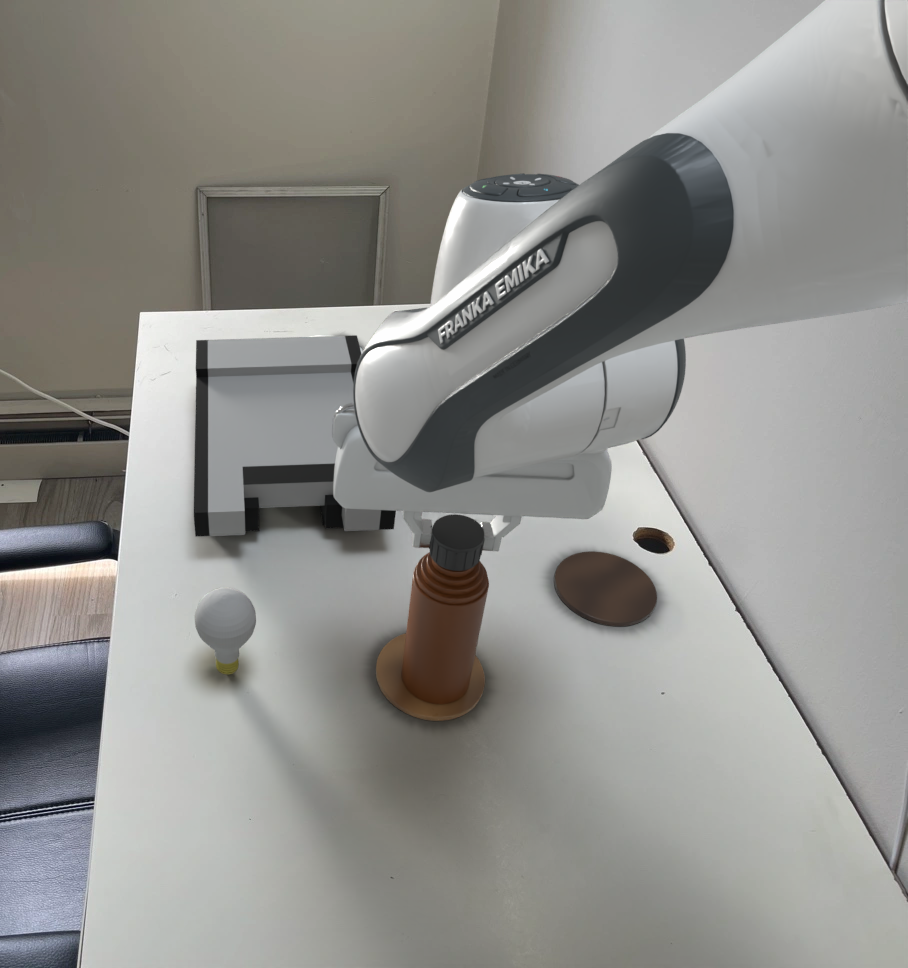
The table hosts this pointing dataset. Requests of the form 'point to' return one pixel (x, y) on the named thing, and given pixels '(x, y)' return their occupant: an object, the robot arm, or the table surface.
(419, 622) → the bottle
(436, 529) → the cap
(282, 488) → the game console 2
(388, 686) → the coaster
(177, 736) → the table surface
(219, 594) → the light bulb
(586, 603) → the dish
